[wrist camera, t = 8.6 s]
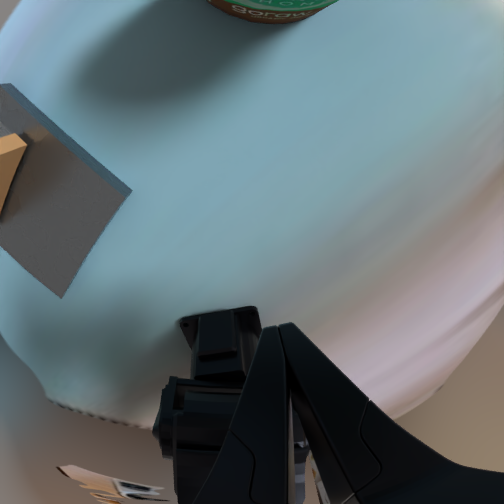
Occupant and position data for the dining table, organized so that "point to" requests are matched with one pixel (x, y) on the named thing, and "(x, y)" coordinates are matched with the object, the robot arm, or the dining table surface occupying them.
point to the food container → (271, 9)
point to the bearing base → (53, 196)
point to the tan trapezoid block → (9, 161)
